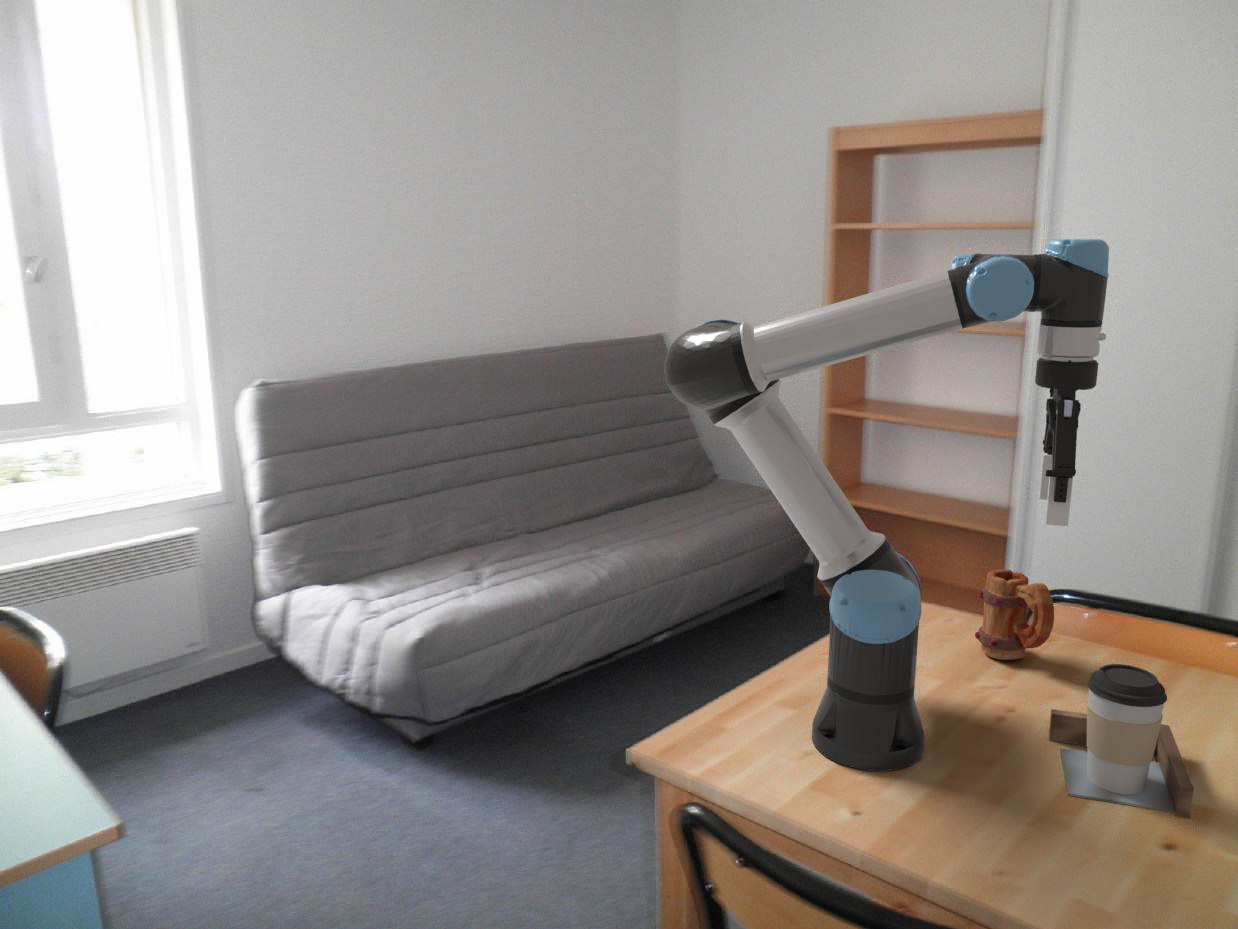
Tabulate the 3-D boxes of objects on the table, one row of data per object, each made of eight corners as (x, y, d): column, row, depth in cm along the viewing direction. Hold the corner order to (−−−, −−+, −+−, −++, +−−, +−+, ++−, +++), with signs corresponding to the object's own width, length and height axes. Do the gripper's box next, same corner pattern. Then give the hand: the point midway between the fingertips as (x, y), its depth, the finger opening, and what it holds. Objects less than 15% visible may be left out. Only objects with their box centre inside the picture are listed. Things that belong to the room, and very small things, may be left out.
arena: (1057, 796, 125) (1060, 767, 124) (1048, 735, 141) (1051, 709, 140) (1189, 818, 120) (1194, 788, 120) (1165, 752, 136) (1169, 725, 135)
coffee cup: (1142, 766, 132) (1156, 660, 128) (1165, 803, 123) (1180, 691, 120) (1069, 759, 134) (1081, 654, 130) (1086, 795, 125) (1099, 684, 122)
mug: (963, 647, 171) (970, 564, 167) (1003, 641, 173) (1010, 559, 170) (1021, 682, 157) (1029, 592, 154) (1063, 676, 160) (1073, 587, 156)
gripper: (1110, 370, 120) (1092, 539, 125) (1088, 348, 143) (1074, 492, 147) (1043, 367, 122) (1027, 533, 127) (1032, 347, 145) (1019, 488, 150)
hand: (1052, 511), depth 137 cm, fingers open, 13 cm apart
